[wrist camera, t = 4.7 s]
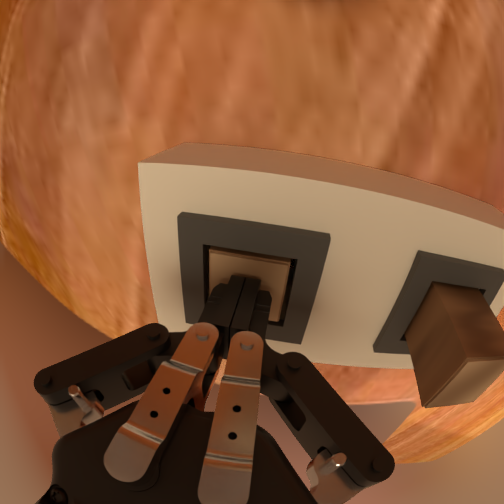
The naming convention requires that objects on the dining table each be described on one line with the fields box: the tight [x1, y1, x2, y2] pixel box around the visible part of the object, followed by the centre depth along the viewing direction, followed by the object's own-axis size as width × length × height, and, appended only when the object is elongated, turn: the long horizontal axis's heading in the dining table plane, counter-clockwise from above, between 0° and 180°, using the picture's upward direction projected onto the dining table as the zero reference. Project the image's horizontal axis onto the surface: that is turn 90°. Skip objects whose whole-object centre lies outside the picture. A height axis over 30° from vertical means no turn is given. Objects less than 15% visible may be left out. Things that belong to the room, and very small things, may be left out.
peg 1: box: [209, 246, 291, 322], centre depth 17 cm, size 4×4×7 cm
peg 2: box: [404, 281, 504, 408], centre depth 11 cm, size 4×4×7 cm
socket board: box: [138, 143, 504, 369], centre depth 16 cm, size 24×12×7 cm, turn 85°
